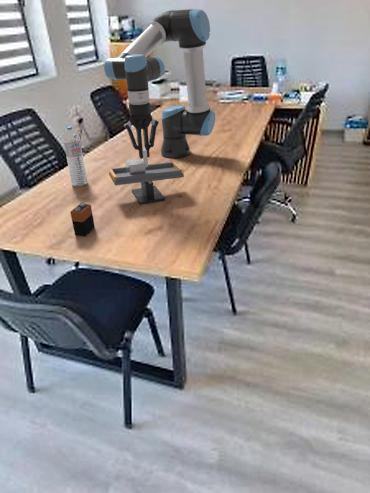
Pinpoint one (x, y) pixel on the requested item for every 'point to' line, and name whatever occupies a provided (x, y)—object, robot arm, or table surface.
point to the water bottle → (75, 158)
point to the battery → (82, 219)
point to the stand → (147, 194)
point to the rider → (135, 167)
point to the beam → (147, 173)
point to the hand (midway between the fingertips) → (145, 165)
